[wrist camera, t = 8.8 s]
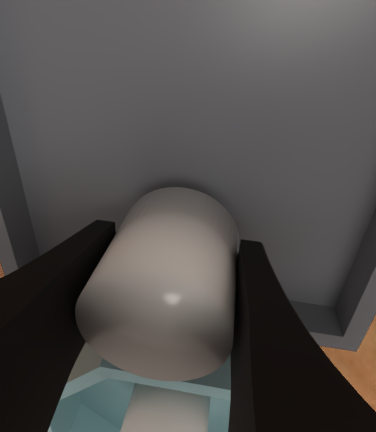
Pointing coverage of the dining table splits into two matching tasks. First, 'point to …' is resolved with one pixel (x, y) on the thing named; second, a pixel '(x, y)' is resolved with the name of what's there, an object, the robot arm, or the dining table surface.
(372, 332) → the dining table surface
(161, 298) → the pebble
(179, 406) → the pebble
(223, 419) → the bowl
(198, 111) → the parts tray
